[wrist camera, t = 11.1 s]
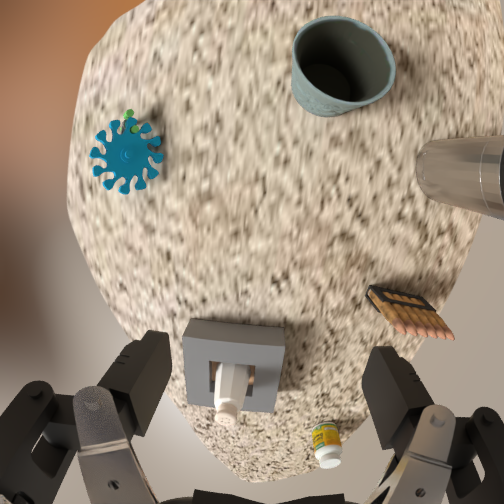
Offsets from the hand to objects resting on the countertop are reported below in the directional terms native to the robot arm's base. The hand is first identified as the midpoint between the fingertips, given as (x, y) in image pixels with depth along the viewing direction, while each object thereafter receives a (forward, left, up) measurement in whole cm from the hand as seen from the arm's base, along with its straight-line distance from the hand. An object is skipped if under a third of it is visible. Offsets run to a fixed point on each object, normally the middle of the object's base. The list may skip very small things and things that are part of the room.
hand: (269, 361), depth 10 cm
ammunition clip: (-21, +9, -28) cm, 36 cm away
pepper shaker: (+3, +22, -26) cm, 34 cm away
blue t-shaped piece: (+18, -9, -28) cm, 34 cm away
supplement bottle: (-16, +40, -28) cm, 51 cm away
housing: (+3, +22, -28) cm, 35 cm away
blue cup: (-6, -19, -28) cm, 34 cm away
